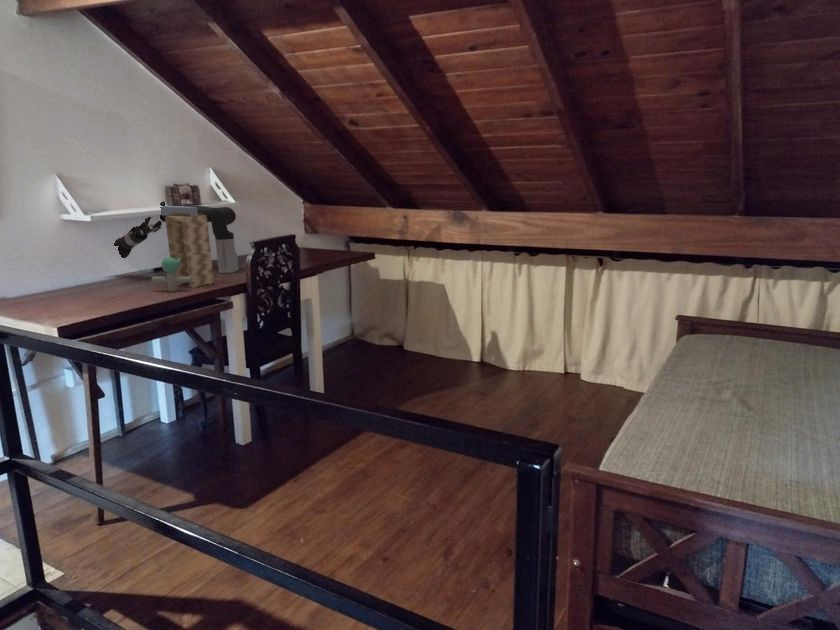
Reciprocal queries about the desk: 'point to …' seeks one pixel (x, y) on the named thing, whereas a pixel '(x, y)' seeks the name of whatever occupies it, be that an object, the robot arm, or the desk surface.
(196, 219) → the zigzag patterned block
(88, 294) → the desk surface
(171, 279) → the toy
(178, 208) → the bar
